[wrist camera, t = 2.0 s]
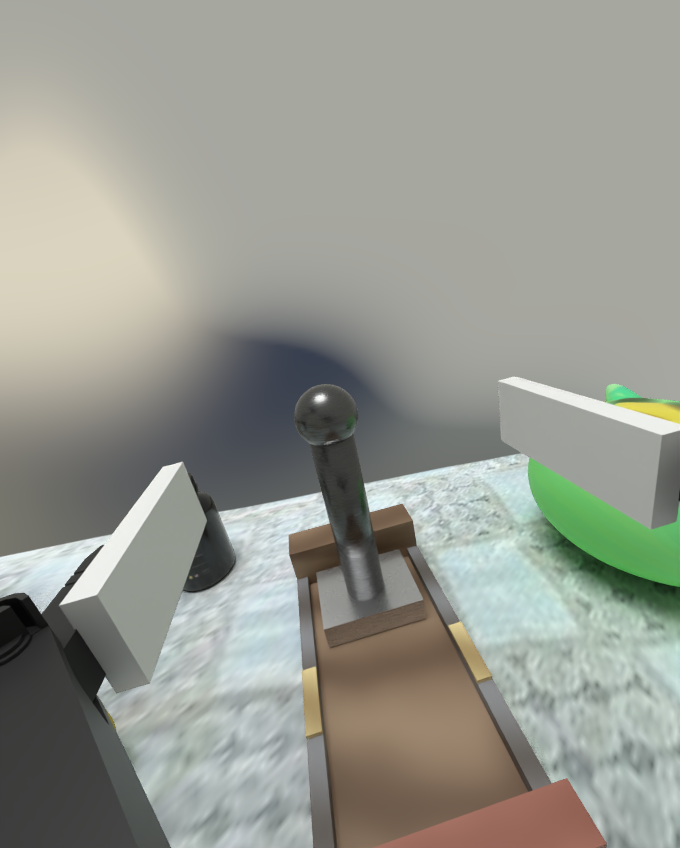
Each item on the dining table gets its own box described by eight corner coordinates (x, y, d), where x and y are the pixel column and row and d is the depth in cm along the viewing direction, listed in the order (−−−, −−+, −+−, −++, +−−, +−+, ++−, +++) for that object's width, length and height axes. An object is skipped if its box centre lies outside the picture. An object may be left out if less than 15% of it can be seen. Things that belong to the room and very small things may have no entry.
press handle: (320, 588, 32) (262, 389, 26) (401, 565, 33) (366, 365, 26) (329, 647, 27) (257, 413, 20) (426, 618, 28) (389, 381, 21)
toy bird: (495, 533, 37) (487, 404, 32) (597, 475, 42) (605, 357, 37) (732, 687, 21) (793, 479, 16) (846, 563, 27) (920, 379, 21)
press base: (301, 576, 37) (288, 534, 35) (409, 545, 38) (402, 503, 36) (334, 1003, 14) (303, 952, 12) (598, 900, 15) (607, 837, 13)
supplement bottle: (189, 555, 44) (152, 473, 40) (241, 544, 44) (210, 461, 40) (167, 600, 37) (120, 507, 33) (228, 587, 37) (189, 493, 33)
